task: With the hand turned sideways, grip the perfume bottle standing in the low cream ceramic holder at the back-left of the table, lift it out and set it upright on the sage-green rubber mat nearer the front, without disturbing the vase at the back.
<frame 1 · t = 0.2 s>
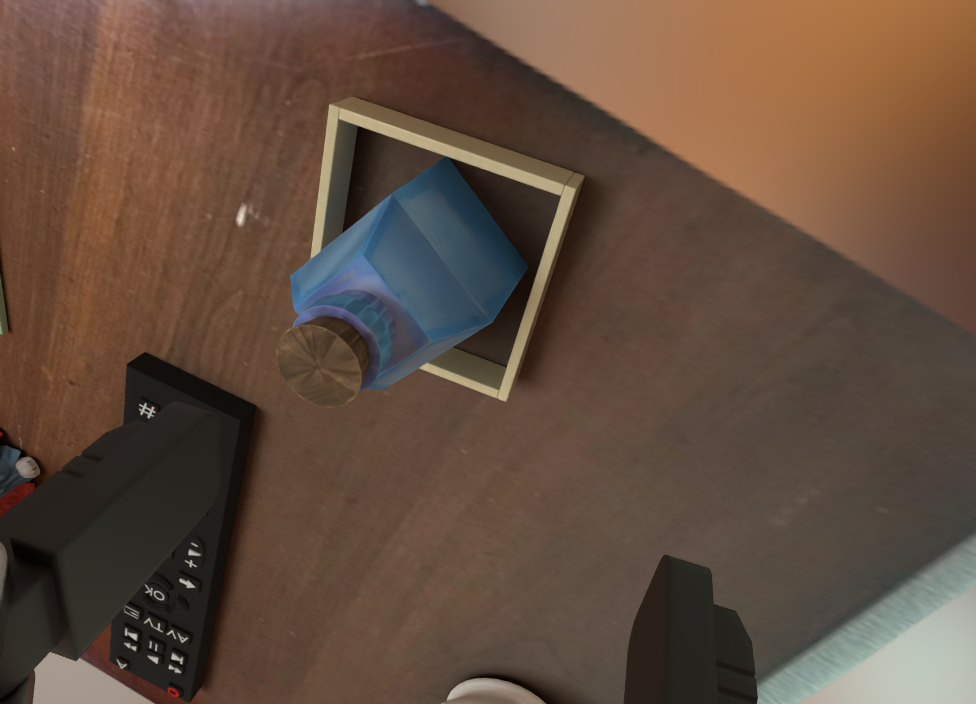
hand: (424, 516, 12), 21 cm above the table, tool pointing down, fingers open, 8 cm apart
figurine: (16, 483, 53), on the table
holder: (440, 247, 34), on the table
remote control: (179, 545, 51), on the table
perfume bottle: (441, 246, 34), resting in holder
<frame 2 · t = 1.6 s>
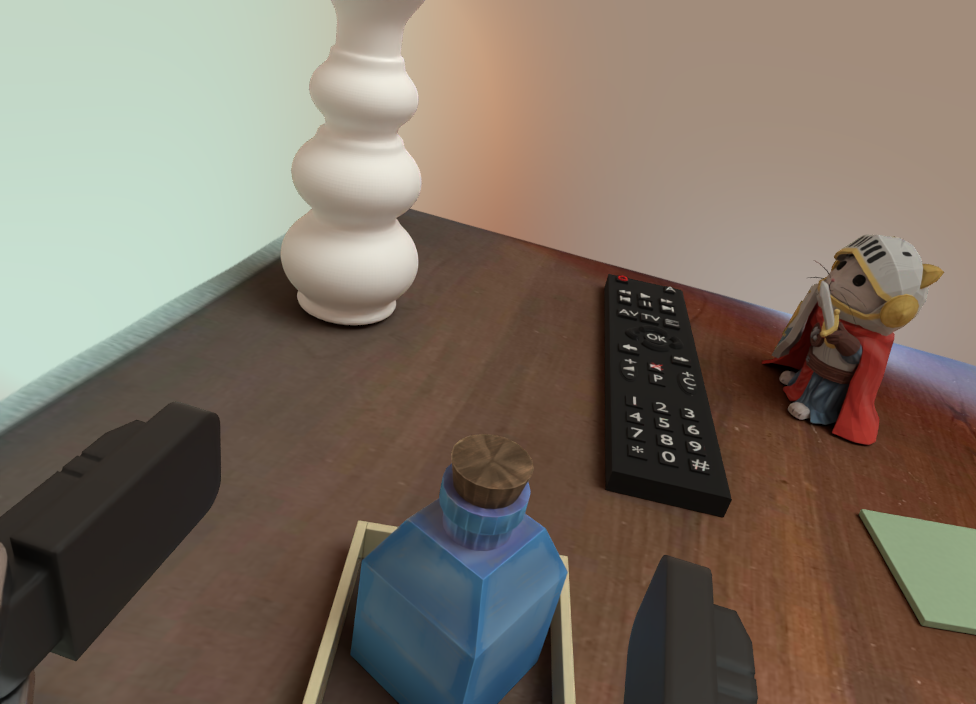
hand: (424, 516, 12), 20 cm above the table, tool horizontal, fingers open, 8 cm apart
mat: (956, 577, 44), on the table
vase: (346, 308, 59), on the table
figurine: (806, 399, 60), on the table
holder: (445, 658, 33), on the table
remote control: (649, 376, 59), on the table
perfume bottle: (445, 661, 33), resting in holder
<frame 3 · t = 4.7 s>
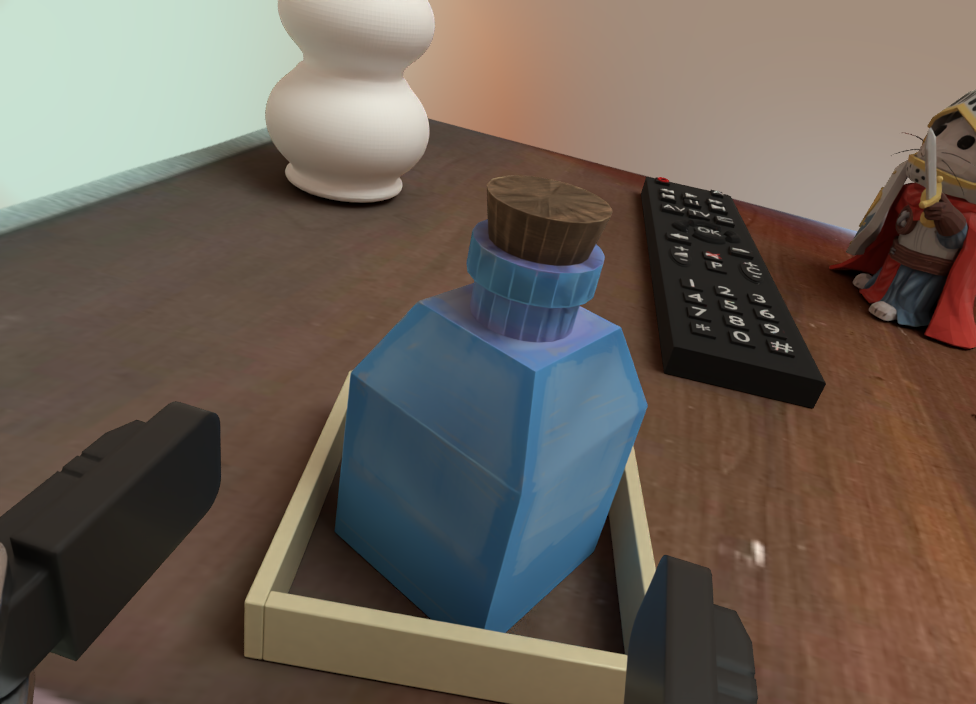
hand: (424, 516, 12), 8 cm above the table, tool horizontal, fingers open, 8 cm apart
vase: (343, 190, 50), on the table
figurine: (887, 304, 51), on the table
holder: (468, 542, 23), on the table
remote control: (701, 272, 49), on the table
perfume bottle: (467, 546, 23), resting in holder
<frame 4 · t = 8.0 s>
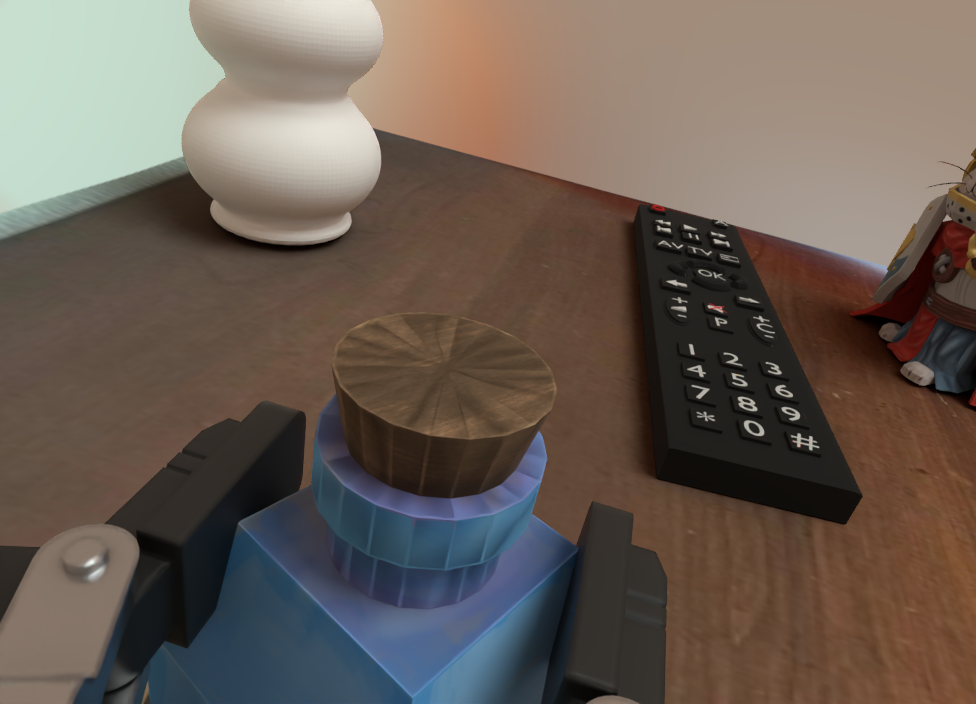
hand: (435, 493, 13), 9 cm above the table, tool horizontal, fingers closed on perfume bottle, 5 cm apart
vase: (282, 228, 43), on the table
figurine: (919, 361, 43), on the table
remote control: (703, 325, 42), on the table
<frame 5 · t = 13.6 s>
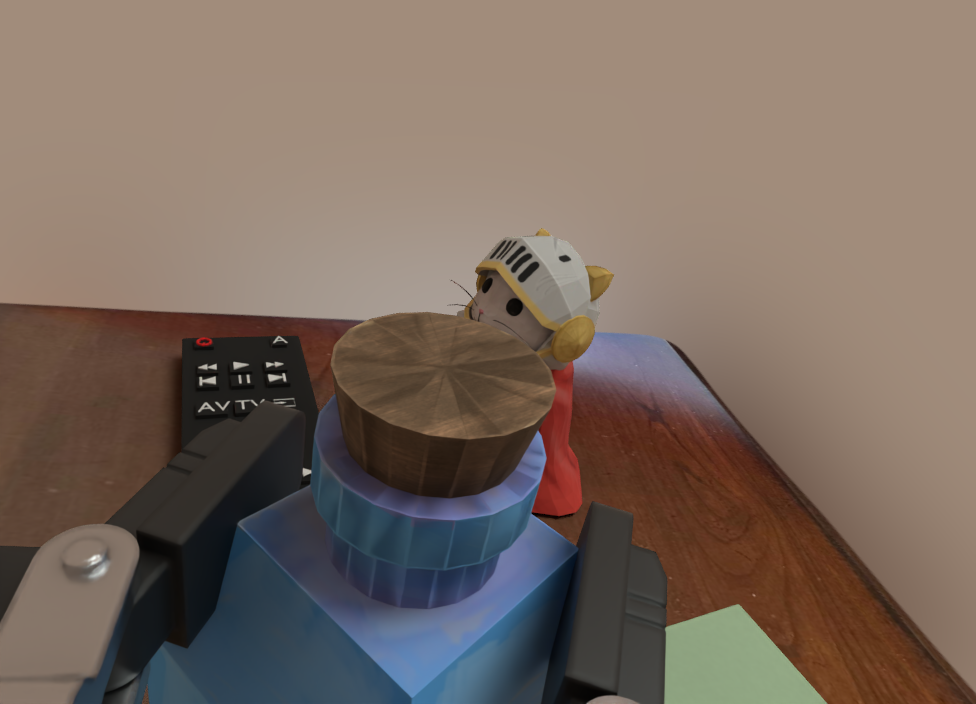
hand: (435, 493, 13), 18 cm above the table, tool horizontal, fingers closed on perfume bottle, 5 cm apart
figurine: (488, 461, 44), on the table
remote control: (261, 511, 37), on the table
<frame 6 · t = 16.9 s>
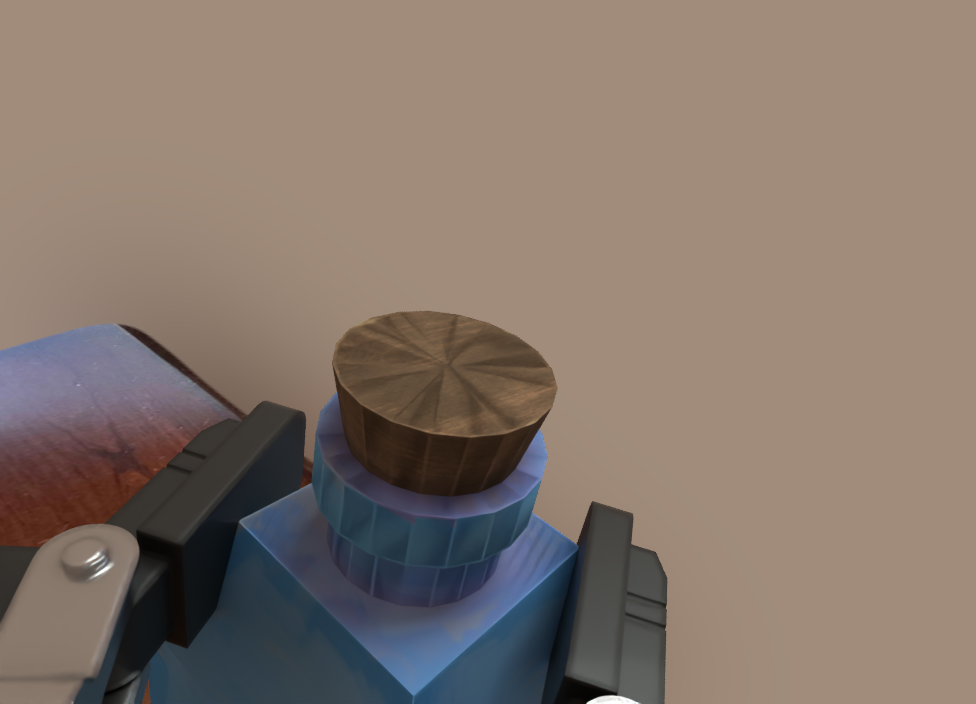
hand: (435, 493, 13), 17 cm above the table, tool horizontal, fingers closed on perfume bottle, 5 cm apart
when the fingers open (9 cm above the table, at t = 19.6 s): perfume bottle stays where it is, resting on mat.
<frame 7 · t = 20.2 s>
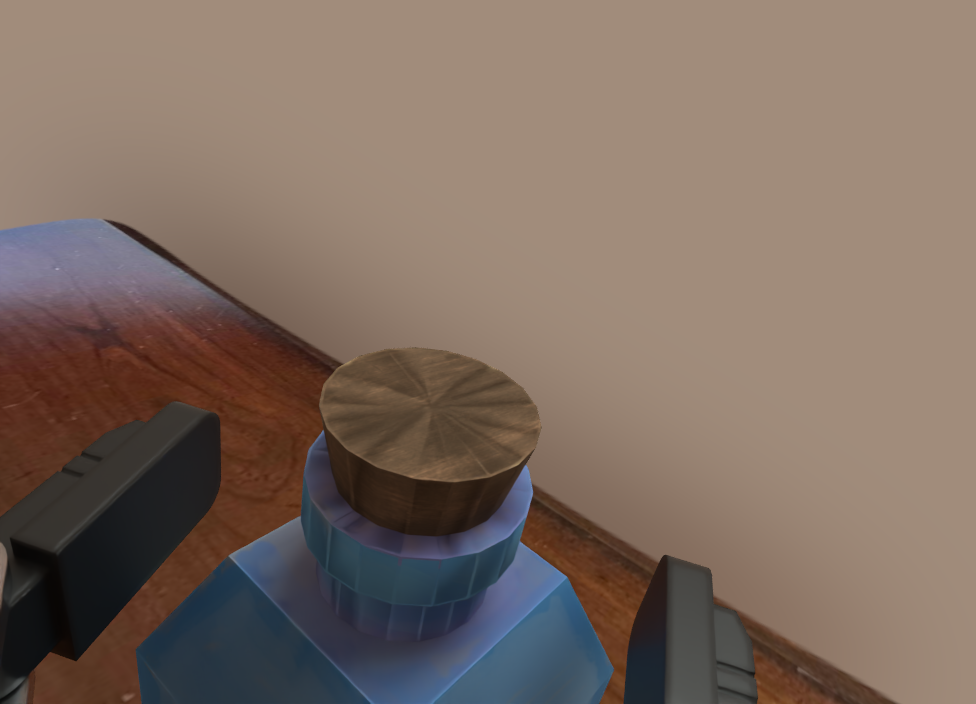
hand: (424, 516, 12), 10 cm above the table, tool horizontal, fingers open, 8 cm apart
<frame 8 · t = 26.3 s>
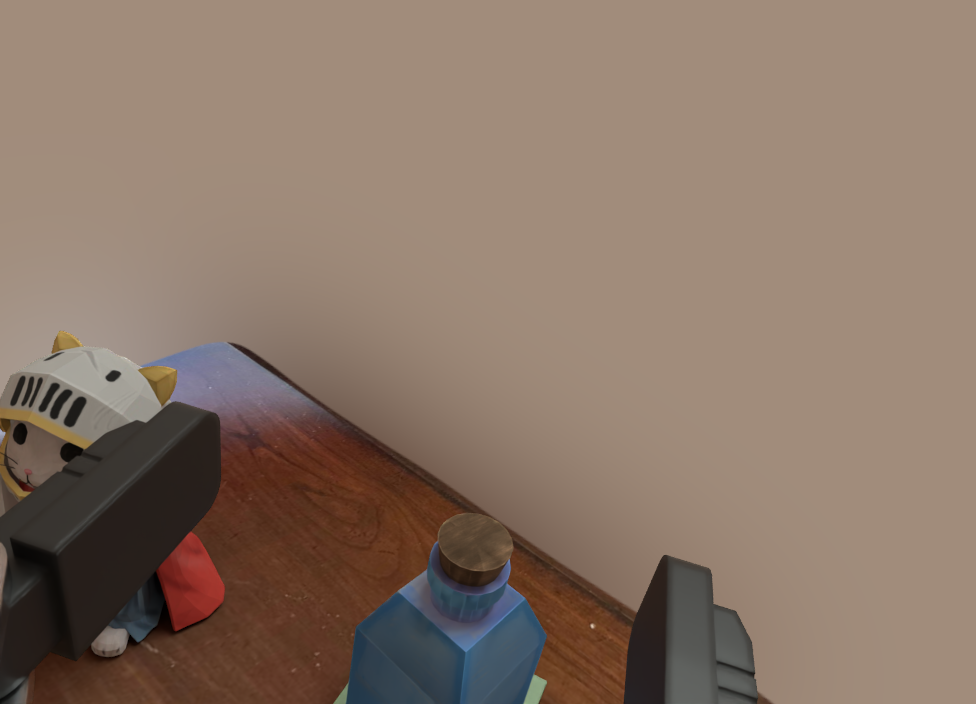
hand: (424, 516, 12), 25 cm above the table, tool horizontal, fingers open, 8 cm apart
figurine: (98, 593, 38), on the table
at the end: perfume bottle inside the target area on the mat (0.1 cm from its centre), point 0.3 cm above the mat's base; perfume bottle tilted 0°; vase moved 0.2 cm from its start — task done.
